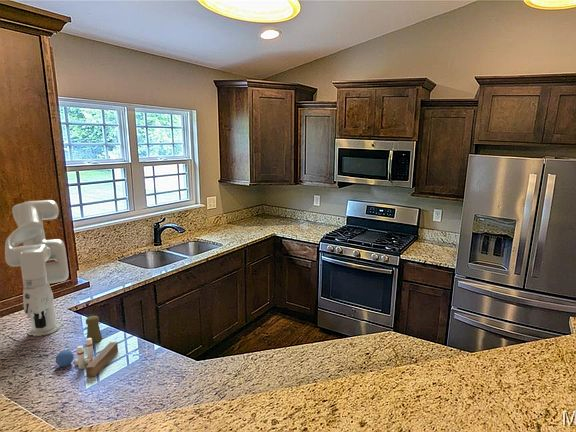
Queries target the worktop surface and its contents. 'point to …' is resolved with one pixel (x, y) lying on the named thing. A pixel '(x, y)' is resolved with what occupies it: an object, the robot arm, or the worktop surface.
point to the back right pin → (81, 357)
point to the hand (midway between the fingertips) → (40, 326)
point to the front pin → (85, 361)
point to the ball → (64, 358)
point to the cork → (93, 329)
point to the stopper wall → (101, 359)
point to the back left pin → (89, 348)
